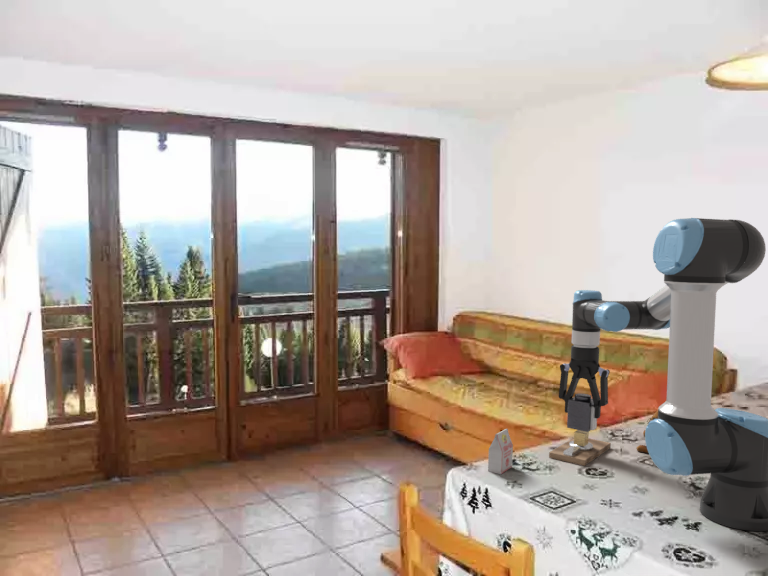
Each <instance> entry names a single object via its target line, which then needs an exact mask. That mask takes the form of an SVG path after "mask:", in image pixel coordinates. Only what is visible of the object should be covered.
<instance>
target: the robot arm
mask: <svg viewBox="0 0 768 576" xmlns="http://www.w3.org/2000/svg"><path fill="white" fill-rule="evenodd" d="M652 249H653V250H652V260H653V264H655V268H656V270H657V271H658V272H659V273H661V274H662V275H664V276H663V283H664V284H665V286H663V287H662V288H661V289H659V290H658V291H657V292H655V293H654V294H653V295H651V296H649V297H648V298H647V299H645V300H636V301H635V300H630V301H629V300H627V301H626V300H620V301H619V300H611V301H610V300H603V295H602V293H601V291H599V290H591V289H581V290H580V289H579V290H576V291H575V292H574V293H573V302H572V322H571V323H572V326H571V327H572V329H571V344H572V345H571V347H570V361H569V363H565V362H564V363H561V364H559V369H560V380H559V381H560V382H559V389H558V398H559V399H562V400H563V401H564V412H565V414H566V413H567V414H568V400H569V399H571V398H573V397H574V396H575V392H576V389H577V388H578V387H577V386H578V383H579V381H580V379H583V380H586V382H587V383H588V385H589V390H590V394H591V399H593V403H594V406H592V407H591V426H590V430H591V431H594V430H596V429H597V425H598V423H597V422H598V419H599V418H601V411H602V410H601V409H602V407H605V406H607V405H609V388H608V387H609V383H608V381H609V380H608V378H609V375H610V371H611V370H609V369H605V368H604V367H603V368H602V367H601V366H600V363H599V361H600V347H599V345H600V344H601V343H600V341H601V339H600V338H601V330H603V331H606V332H613V333H615V332H616V333H617V332H621V331H623V330H626V331H627V330H631V331H632V330H653V331H654V330H655V331H658V330H659V331H660V330H666V329H669V337H668V338H669V339H668V359H667V378H666V379H667V381H666V383H667V384H666V400H665V402H663V403H662V404H660V405H659V406H658V408H657V411H658V419H654V420H652V421H650V422H649V421H648V422H649V423H647V425H646V428H645V429H644V430H645V437H644V438H645V439H644V440H645V446H647V450H648V453H647V454H649V457H650V458H651V461H652V463H653V464H654V465H655V466H656V467H657V468H658V469H659V470H660V471H661V472H663V473H664V474H667V475H670V476H671V475H672V476H684V477H687V476H691V475H693V476H694V475H704V474H705V475H708V474H709V475H710V476H709V479H708V481H707V484H706V486H705V488H704V490H703V492H702V494H701V497H700V500H699V512H700V513H701V514H702V515H703V517H705V518H707V519H708V520H710V521H712V522H714V523H716V524H720V525H722V526H725V527H729V528H732V529H737V530H742V531H743V530H744V531H751V532H766V531H768V418H767V417H765V416H762V415H760V414H757V413H756V414H755V413H752V412H749V411H743V410H739V409H735V408H734V409H733V408H729V407H728V408H727V407H726V408H725V407H717V408H716V409H715V408H713V406H712V390H713V389H712V388H713V387H712V386H713V372H714V371H713V370H714V369H713V368H714V367H713V366H714V351H715V350H714V349H715V348H714V347H715V331H716V330H715V329H716V328H715V327H716V306H717V305H716V304H717V292H719V290H720V289H721V288H722V287H724V286H725V285H728V284H736V283H739V282H741V281H742V280H744V279H746V278H747V277H749V276H750V275H752V274H753V273H754V272H755V271H757V270H758V269H759V267H760V266H761V265H762V264H763V260H764V259H765V256H766V242H765V238H764V236H763V235H762V234H761V231H759V230H758V228H756V227H755V226H753V225H752V224H750V223H749V222H746V221H743V220H740V219H718V218H716V219H715V218H702V217H701V218H698V217H691V218H676V219H673V220H671V221H668V222H667V223H666V224H665V225H663V227H662V229H661V230H659V232H658V234H657V236H656V237H655V240H654V244H653V248H652ZM570 370H571V372H572V373H573V374H572V376H571V381H570V383H569V386H568V381H569V371H570ZM598 373H599V376H600V379H599V381H600V383H599V385H600V387H599V388H600V391H599V388H598V385H597V377H596V375H597V374H598ZM566 420H568V415H567V419H566Z"/></svg>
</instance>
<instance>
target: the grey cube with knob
mask: <svg viewBox="0 0 768 576" xmlns="http://www.w3.org/2000/svg"><path fill="white" fill-rule="evenodd" d="M592 406H594V403H593V399H592V395H590V394H587V393H574V396H573V397H572V398H571V399H569V400H568V413H567V416H568V420H567V419H566V420H567V422H566V426H567V427H566V428H567V429H573V430H575V431H577V430H581V431H585V432H591V431H592V430H590V426H591V407H592Z"/></svg>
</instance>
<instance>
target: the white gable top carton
mask: <svg viewBox="0 0 768 576" xmlns="http://www.w3.org/2000/svg"><path fill="white" fill-rule="evenodd" d="M513 447H514V445H513V442H512V439H511V437H510V433H509V429H508V428H505V429H503V430H502V431H499V432H497V433H495V434H494V438H493V441H492V442H491V444H490V446H489V447H488V456H487V457H488V459H487V460H488V461H487V463H488V465H487V471H488V472H489V473H495V474H499V475H502V474H504V473H505V472H507V471H508V470H510V469H511V468H512V467H513V453H514V451H513Z"/></svg>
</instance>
